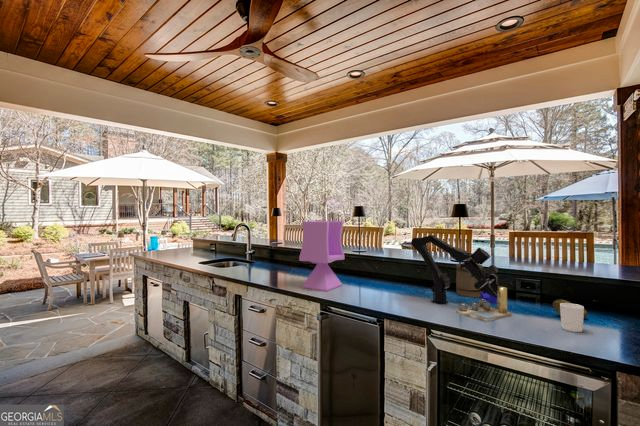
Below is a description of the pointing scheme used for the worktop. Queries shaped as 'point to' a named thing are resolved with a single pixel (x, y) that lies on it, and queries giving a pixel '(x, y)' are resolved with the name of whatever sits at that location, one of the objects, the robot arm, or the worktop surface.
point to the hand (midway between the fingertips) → (499, 295)
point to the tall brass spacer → (502, 299)
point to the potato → (557, 303)
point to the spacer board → (492, 310)
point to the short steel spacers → (476, 305)
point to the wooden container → (466, 282)
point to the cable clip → (489, 297)
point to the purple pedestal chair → (322, 253)
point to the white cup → (572, 317)
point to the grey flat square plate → (485, 315)
